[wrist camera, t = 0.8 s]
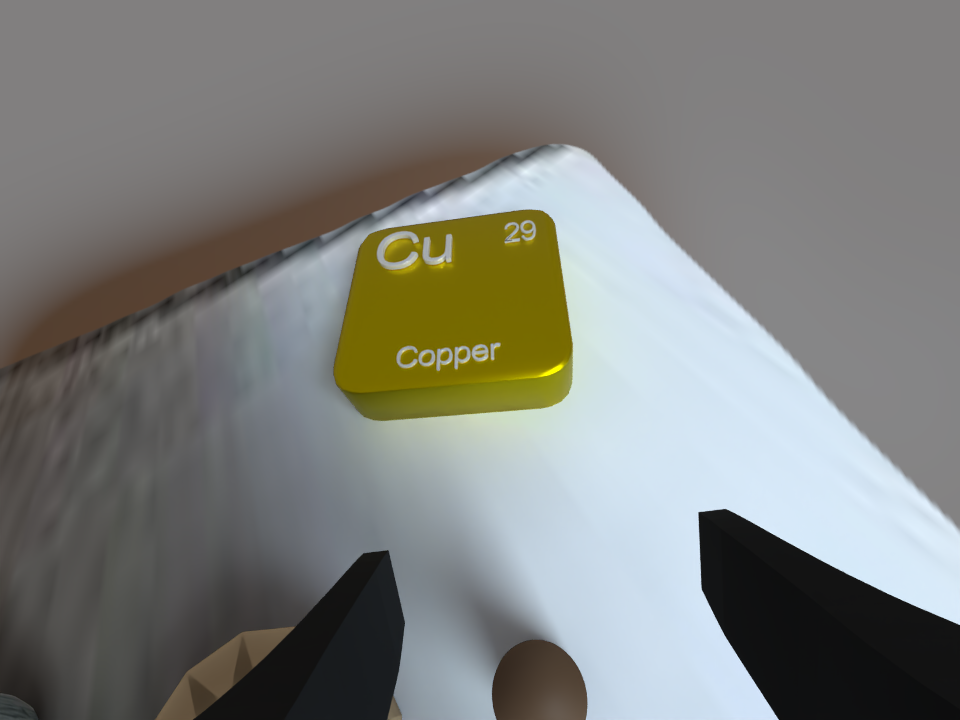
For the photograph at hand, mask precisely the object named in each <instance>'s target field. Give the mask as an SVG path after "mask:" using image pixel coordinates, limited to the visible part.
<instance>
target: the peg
mask: <svg viewBox="0 0 960 720" xmlns="http://www.w3.org/2000/svg"><path fill="white" fill-rule="evenodd" d="M492 701H493V708H494V713H495V716H496V719H497V720H586V715H587V692H586V687H585V683H584V680H583V677H582V675H581V673H580V670H579V669H578V667H577V665H576V663H575V662H574V661H573V659H572V658H571V657H570V656H569V655H568V654H567V653H566V652H565V651H564V650H563V649H561V648H560V647H558V646H557V645H555V644H553V643H550V642H547V641H544V640H529V641H525V642H522V643H520V644H518V645H516V646H514V647H513V648H512V649H510V650H509V651H508V652H507V653H506V654H505V656H504V657H503V658H502V660H501V662H500V663H499V665H498V667H497V670H496V673H495V676H494V680H493V687H492Z"/></svg>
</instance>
